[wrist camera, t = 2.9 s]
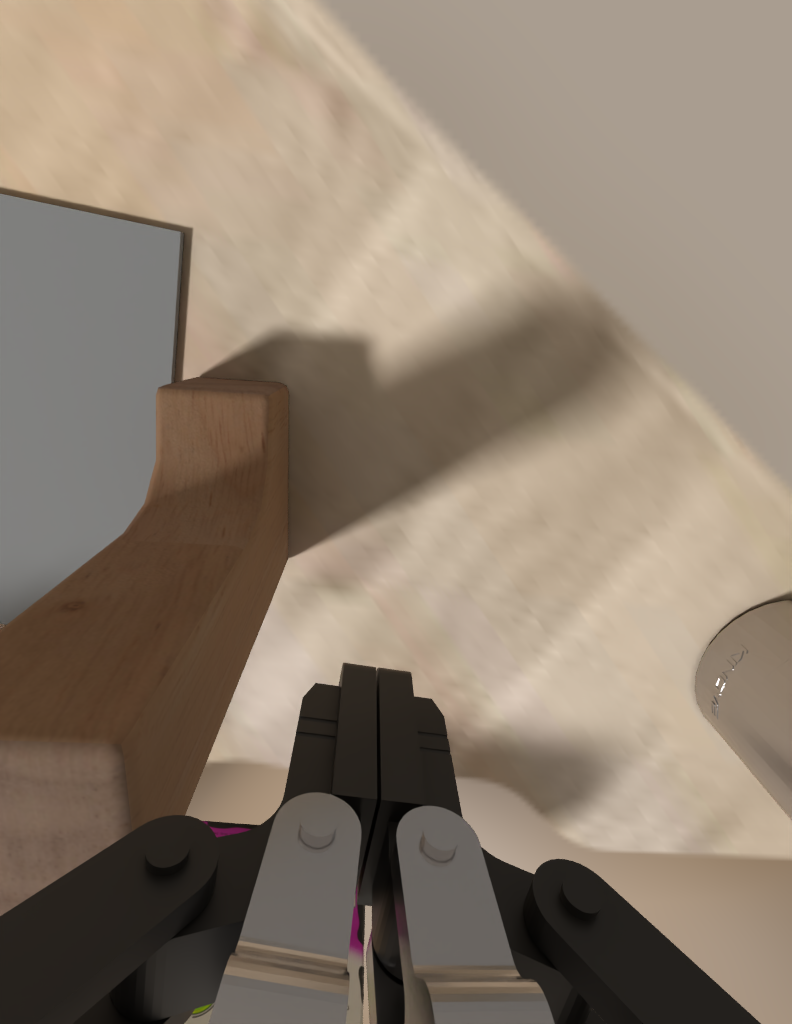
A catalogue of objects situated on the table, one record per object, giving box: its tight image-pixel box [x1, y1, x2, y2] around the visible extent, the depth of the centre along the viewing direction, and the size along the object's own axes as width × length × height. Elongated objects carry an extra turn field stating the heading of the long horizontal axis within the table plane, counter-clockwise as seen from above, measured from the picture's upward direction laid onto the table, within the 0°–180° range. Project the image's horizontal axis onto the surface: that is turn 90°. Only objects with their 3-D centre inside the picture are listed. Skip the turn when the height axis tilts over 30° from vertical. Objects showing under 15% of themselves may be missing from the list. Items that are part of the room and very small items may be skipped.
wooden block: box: [0, 377, 289, 916], centre depth 18 cm, size 9×4×18 cm, turn 176°
